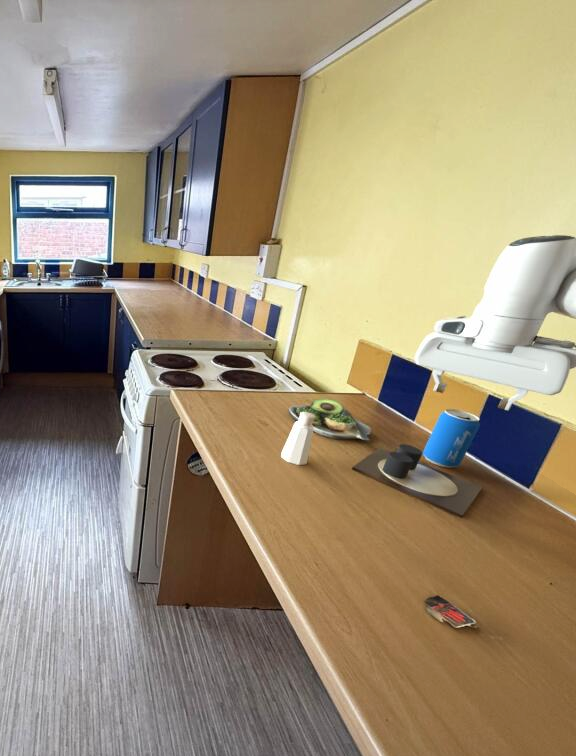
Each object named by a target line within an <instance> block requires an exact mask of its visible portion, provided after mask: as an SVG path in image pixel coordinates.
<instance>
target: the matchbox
mask: <svg viewBox="0 0 576 756" xmlns="http://www.w3.org/2000/svg"><path fill="white" fill-rule="evenodd" d="M423 603H424V604H426V606H425V607H424V608H425V609H424V610H425V611H427V613H428V614H429V615H430V616H432V617H433V618H435V619H436V620H437V621H439V622H441V623H444V621H445V622H446V623H448V624H449V625H451V626H452V627H454V628H458V629H459V628H461V627H465V626H468V627H471V628H473V629H477V628H478V627H479V624H476V623H477V621H476V620H475V619H474V618H472V617H471V616H469V615H468V614H467V613H466V612H464V611H462V610H461V609H459V608H458V607H457V606H456V605H455V604H454V603H453V602H451V601H449V600H447V599H445V598H443V597H442V596H440V595H439V594H435V595H432V596H428V597H427V598H426V599H425V600H424V601H423Z"/></svg>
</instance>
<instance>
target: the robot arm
mask: <svg viewBox="0 0 576 756" xmlns="http://www.w3.org/2000/svg"><path fill="white" fill-rule="evenodd" d="M550 313H554V314H558V315H561V316H565V317H568V318H570V319H574V320H576V236H572V235H565V234H563V235H562V234H561V235H559V234H557V235H555V234H554V235H538V236H531V237H523V238H520V239H517V240H515V241H513V242H511V243H509V244H508V245H507V246H506V247H505V248H504V249H503V250H502V252H501V253H500V255H499V256H498V258H497V260H496V262H495V264H493V267H492V269H491V271H490V274H489V276H488V278H487V280H486V281H485V285H484V292H483V297H482V299H481V300H480V302H479V303H478V304H477V305H476V307H475V309H474V311H473V313H472V315H469V316H466V315H463V316H455V317H454V316H453V317H446V318H442V319H439V320H438V321H436V322H435V325H434V328H433V330H434V331H433V332H431V333H429V334H428V335H426V336H425V338H424V339H423V340H422V341H421V343H420V345H419V346H418V349H417V350H416V353H415V355H414V359H413V360H414V362H415V364H416V365H418V366H421V367H425V368H430V369H433V371H432V373H431V375H432V378H433V381H434V383H435V384H434V387H433V389H432V391H433V392H436V393H440V394H443V393H445V391H446V388H447V386H448V383H447V382H443V379H442V375H444V374H445V372H447V373H452V374H456V375H461V376H465V377H468V378H474V379H478V380H481V381H486V382H489V383H490V382H491V383H494V384H498V385H499V384H500V385H504V386H506V387H512V388H515V391H514V394H515V395H513V396H512V397H510V398H506V397H502V398H501V399H500V401H499V404H498V405H497V409H500V410H504V411H510V409H511V408H512V406H513V403H515V402H517V401H519V400H520V399H522V398H524V397H526V395H527V394H528V393H529V392H533V393H537V394H542V395H546V396H555V395H557V394H561V392H562V391H563V389H564V387H565V384H566V382H567V380H568V377H569V374H570V371H571V370H572V369H575V368H576V342H574V341H570V340H562V339H561V340H559V339H555V338H551V337H546V336H539V335H538V334H539V331H540V330H541V327H542V325H543V324H544V321H545V320H546V318H547V316H548V314H550Z"/></svg>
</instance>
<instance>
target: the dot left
mask: <svg viewBox="0 0 576 756" xmlns="http://www.w3.org/2000/svg"><path fill="white" fill-rule="evenodd" d="M395 452H398V453H402V454H405V455H407V456H409V457H411V458H412V459H413V463H412V465H411V468H410V470H414V469H415V468H416V466H417V464H418V462H419V463H420V459H421V457H422V455H423V451H422V450H421V449H419V448H417V446H416V447H415V446H413V445H410V444H404V443H402V444H399V445H398V447H397V449H396V451H395Z"/></svg>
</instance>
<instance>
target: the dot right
mask: <svg viewBox="0 0 576 756" xmlns="http://www.w3.org/2000/svg"><path fill="white" fill-rule="evenodd" d="M412 463H413V459H412V458H411V457H409V456H407V455H405V454H402V453H398V452H396V451H391V452H390V453H389V455H388V457H387V460H386V462H385V465H384V467H383V471H384V472H385V473H386V474H388V475H390V476H392V477H395V478H400V479H404V478H406V476H407V474H408V472H409V470H410V468H411V465H412Z"/></svg>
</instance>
